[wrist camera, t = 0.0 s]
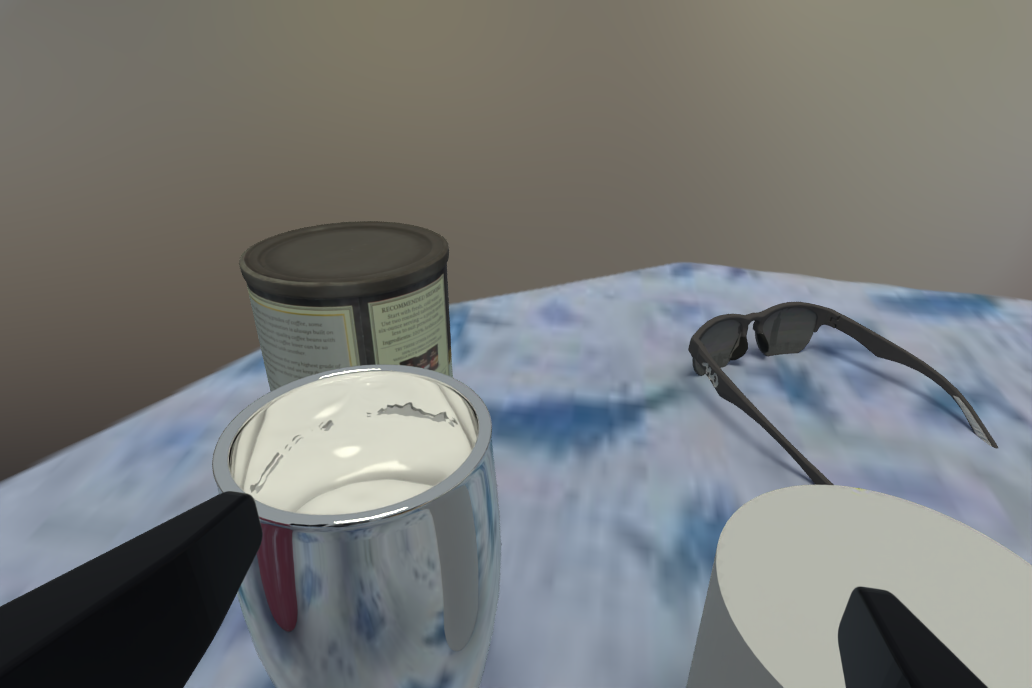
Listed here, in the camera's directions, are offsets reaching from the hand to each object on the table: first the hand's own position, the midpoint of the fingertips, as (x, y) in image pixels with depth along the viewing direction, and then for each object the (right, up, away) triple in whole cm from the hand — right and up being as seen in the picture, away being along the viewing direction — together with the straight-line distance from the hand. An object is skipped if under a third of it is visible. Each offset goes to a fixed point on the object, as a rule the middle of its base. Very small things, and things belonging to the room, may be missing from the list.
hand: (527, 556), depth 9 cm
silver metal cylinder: (-4, -12, +13) cm, 18 cm away
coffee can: (-9, -5, +28) cm, 30 cm away
